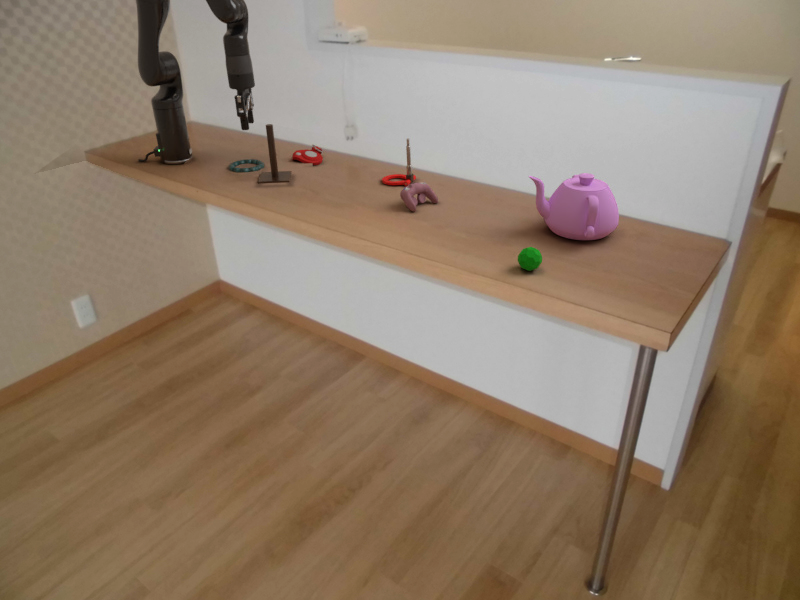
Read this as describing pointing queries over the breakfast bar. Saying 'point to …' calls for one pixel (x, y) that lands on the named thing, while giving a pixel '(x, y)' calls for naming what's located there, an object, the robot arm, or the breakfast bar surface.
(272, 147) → the brown peg stand
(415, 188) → the video game controller
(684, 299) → the breakfast bar surface
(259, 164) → the ring
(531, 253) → the polyhedron
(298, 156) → the tracker holder
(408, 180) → the tow hook
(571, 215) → the teapot
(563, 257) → the breakfast bar surface
